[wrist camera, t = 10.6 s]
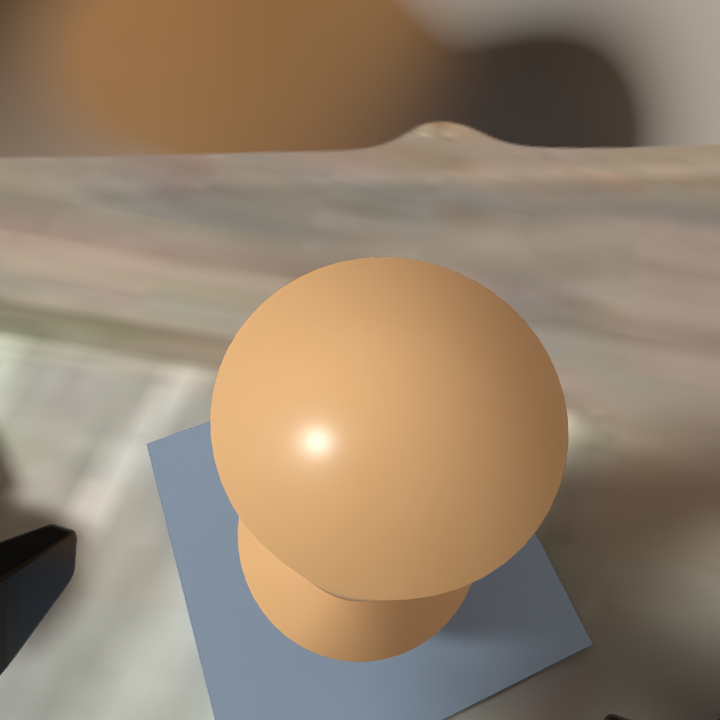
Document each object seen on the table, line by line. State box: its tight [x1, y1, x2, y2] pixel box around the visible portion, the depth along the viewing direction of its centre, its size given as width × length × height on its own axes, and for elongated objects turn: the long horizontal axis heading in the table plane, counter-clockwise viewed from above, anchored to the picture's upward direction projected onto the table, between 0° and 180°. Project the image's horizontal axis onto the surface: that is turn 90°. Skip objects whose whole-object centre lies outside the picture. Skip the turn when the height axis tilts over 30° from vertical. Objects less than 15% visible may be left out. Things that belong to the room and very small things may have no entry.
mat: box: [147, 422, 592, 720], centre depth 19 cm, size 12×12×1 cm
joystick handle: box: [210, 257, 568, 662], centre depth 12 cm, size 7×7×14 cm
